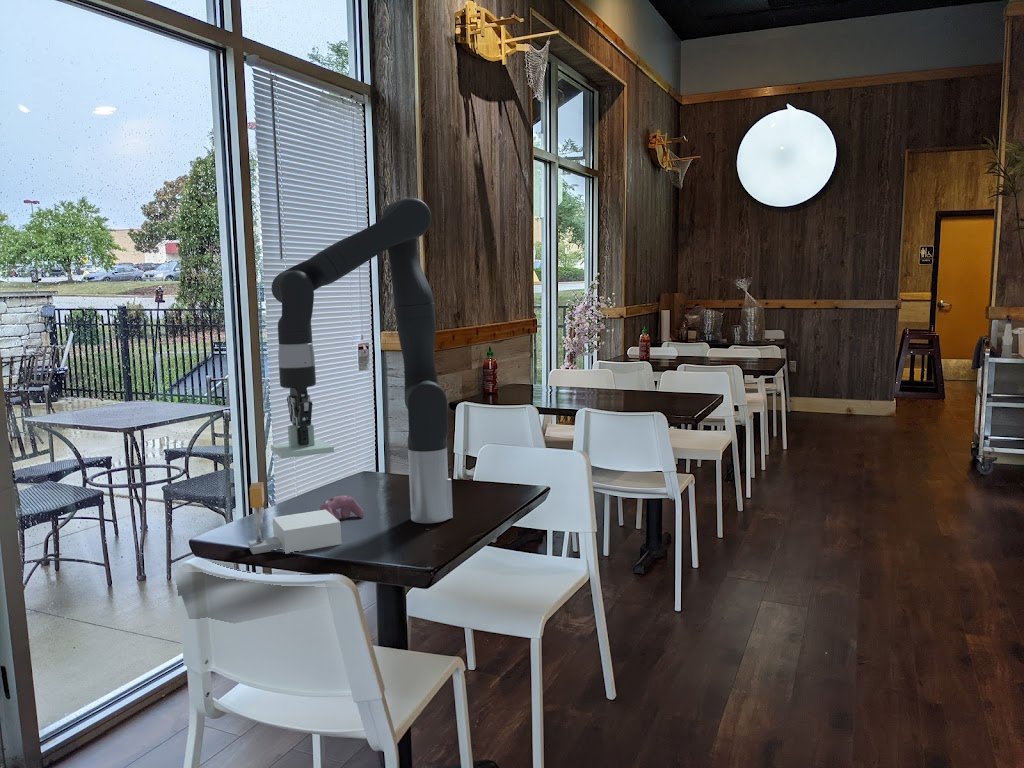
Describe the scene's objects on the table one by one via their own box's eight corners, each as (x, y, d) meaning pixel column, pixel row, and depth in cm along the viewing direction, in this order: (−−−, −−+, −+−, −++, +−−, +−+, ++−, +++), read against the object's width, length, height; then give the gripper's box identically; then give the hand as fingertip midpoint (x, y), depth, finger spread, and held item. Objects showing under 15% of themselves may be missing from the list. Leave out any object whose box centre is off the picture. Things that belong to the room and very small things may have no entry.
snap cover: (320, 444, 183) (319, 419, 182) (333, 452, 173) (332, 426, 172) (271, 450, 177) (269, 424, 177) (281, 458, 168) (280, 431, 167)
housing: (326, 530, 185) (325, 509, 185) (341, 544, 175) (340, 521, 174) (246, 543, 177) (244, 521, 177) (256, 558, 167) (254, 535, 166)
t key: (256, 533, 178) (252, 479, 177) (267, 532, 179) (263, 478, 178) (253, 546, 169) (249, 489, 168) (265, 544, 170) (261, 488, 169)
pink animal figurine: (356, 521, 199) (346, 494, 200) (366, 515, 196) (357, 488, 197) (324, 531, 191) (314, 503, 192) (334, 525, 188) (324, 497, 189)
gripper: (322, 365, 169) (327, 446, 171) (306, 361, 181) (311, 437, 183) (286, 368, 165) (291, 451, 167) (272, 363, 177) (277, 441, 179)
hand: (301, 443), depth 175 cm, fingers closed on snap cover, 2 cm apart
